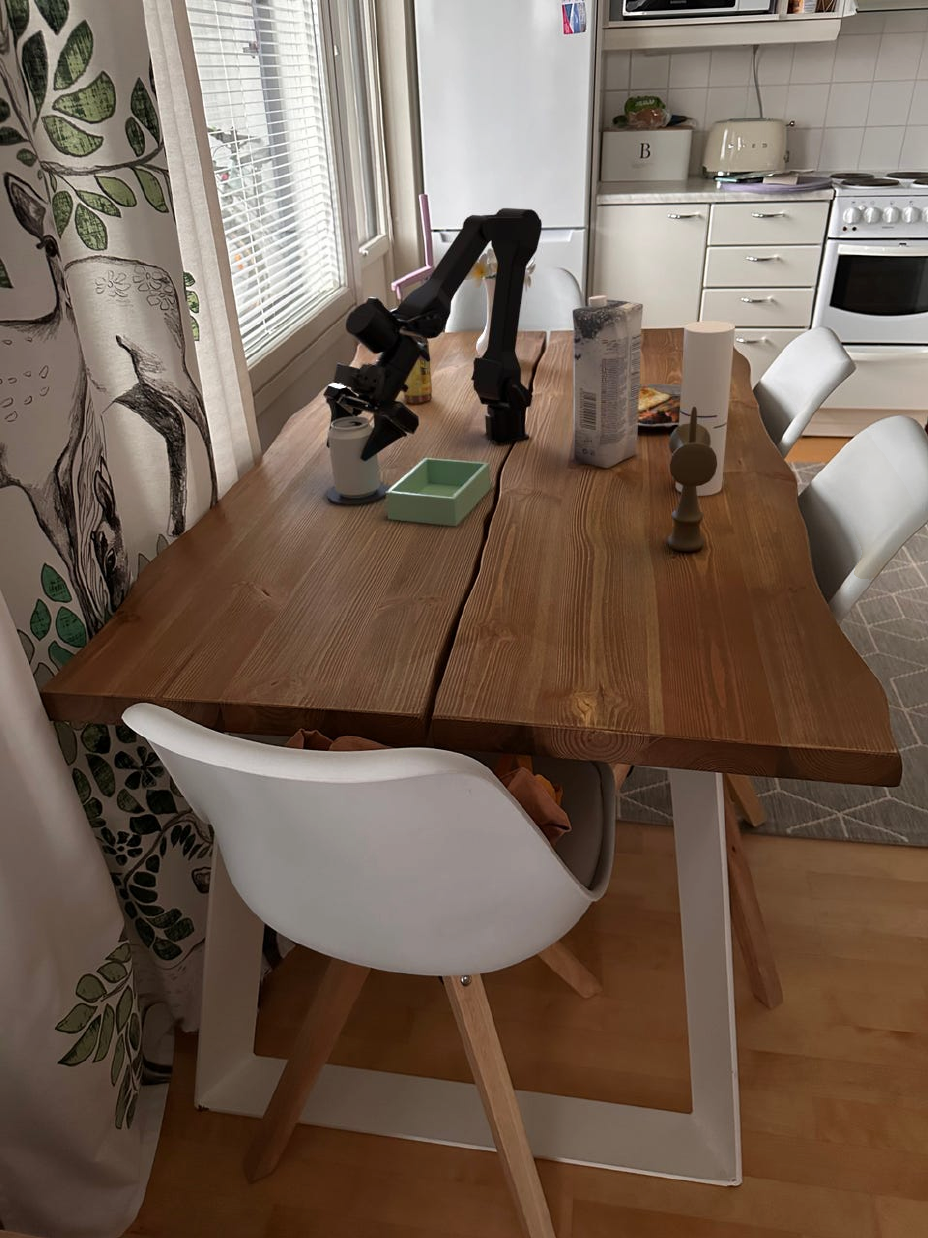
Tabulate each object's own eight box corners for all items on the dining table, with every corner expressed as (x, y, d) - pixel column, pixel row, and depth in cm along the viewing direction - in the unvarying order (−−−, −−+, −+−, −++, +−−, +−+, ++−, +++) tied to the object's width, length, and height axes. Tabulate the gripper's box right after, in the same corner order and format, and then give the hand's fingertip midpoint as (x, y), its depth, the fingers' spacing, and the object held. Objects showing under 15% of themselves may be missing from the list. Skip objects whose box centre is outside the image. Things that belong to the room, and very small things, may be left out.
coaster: (377, 478, 159) (376, 476, 159) (395, 497, 151) (395, 495, 151) (320, 489, 156) (320, 487, 156) (336, 510, 148) (336, 508, 148)
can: (389, 490, 153) (382, 420, 147) (351, 504, 149) (342, 432, 143) (364, 479, 158) (356, 410, 152) (327, 491, 154) (317, 421, 148)
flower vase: (537, 365, 216) (535, 251, 203) (458, 368, 217) (452, 255, 205) (537, 351, 227) (535, 242, 215) (462, 354, 229) (456, 246, 216)
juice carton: (643, 454, 162) (650, 293, 148) (608, 472, 155) (611, 306, 142) (601, 444, 167) (604, 288, 154) (566, 461, 161) (565, 300, 147)
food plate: (659, 444, 165) (660, 425, 164) (564, 418, 181) (564, 401, 179) (741, 410, 179) (743, 392, 177) (646, 389, 195) (646, 372, 193)
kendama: (664, 561, 126) (672, 418, 116) (662, 531, 134) (669, 395, 124) (710, 562, 125) (721, 417, 115) (705, 532, 133) (715, 394, 123)
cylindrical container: (670, 480, 150) (678, 323, 138) (713, 476, 151) (725, 319, 138) (682, 497, 144) (692, 334, 132) (727, 493, 145) (742, 330, 132)
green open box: (427, 482, 156) (425, 457, 154) (490, 488, 152) (489, 462, 150) (388, 519, 144) (385, 492, 142) (456, 526, 140) (454, 498, 138)
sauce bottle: (429, 404, 194) (421, 307, 184) (400, 404, 195) (391, 307, 186) (436, 395, 200) (428, 300, 190) (408, 395, 201) (399, 300, 191)
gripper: (324, 333, 150) (278, 417, 149) (397, 350, 138) (346, 441, 137) (368, 371, 158) (324, 450, 158) (440, 389, 146) (393, 475, 145)
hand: (345, 453), depth 149 cm, fingers open, 9 cm apart
